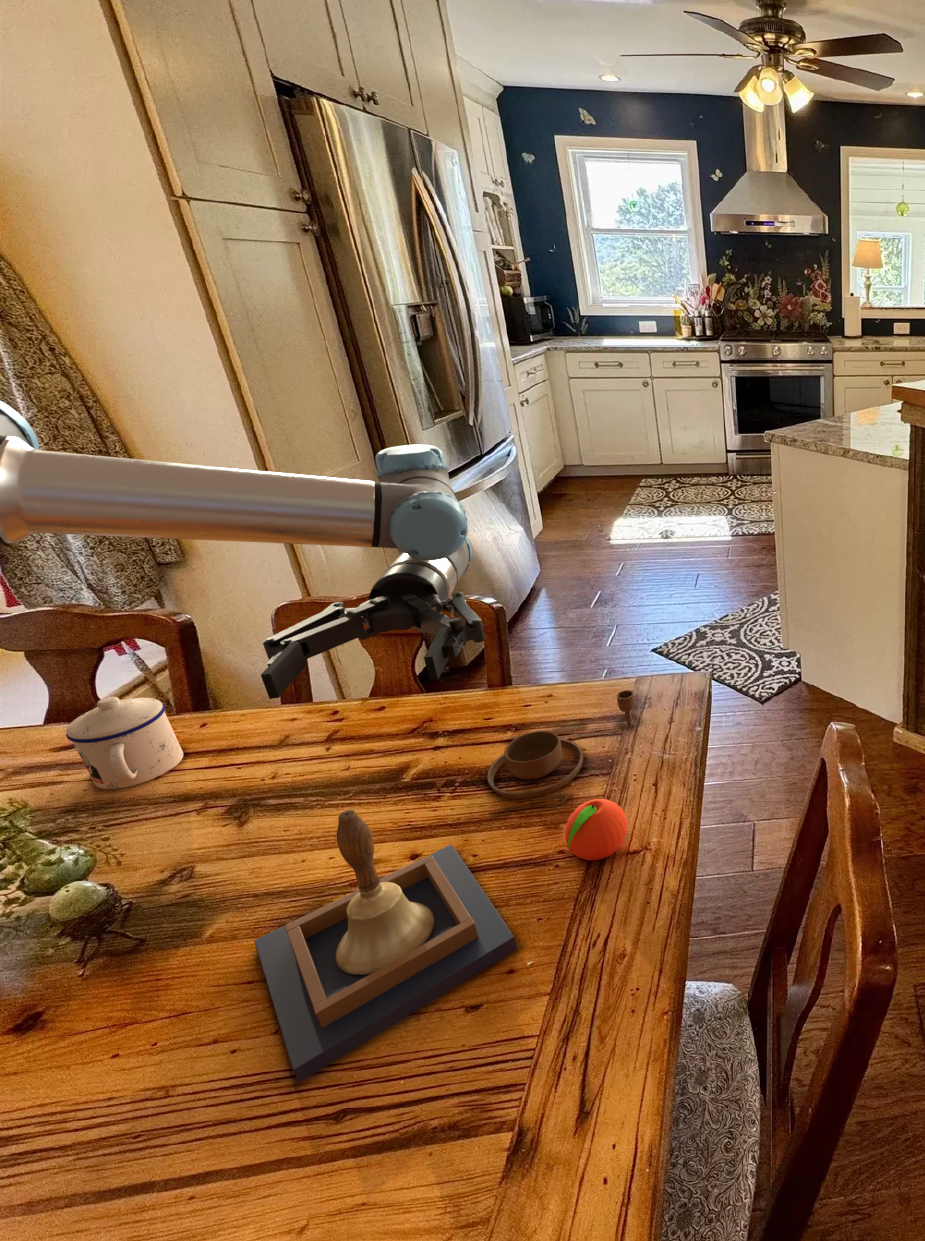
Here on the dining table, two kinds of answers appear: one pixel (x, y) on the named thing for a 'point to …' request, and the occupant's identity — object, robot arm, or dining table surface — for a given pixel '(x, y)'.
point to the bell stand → (369, 1004)
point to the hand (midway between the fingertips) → (352, 677)
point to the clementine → (596, 829)
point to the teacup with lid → (125, 741)
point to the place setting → (544, 756)
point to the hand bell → (375, 908)
